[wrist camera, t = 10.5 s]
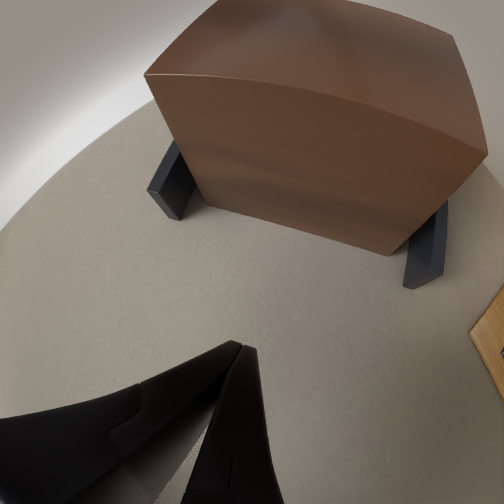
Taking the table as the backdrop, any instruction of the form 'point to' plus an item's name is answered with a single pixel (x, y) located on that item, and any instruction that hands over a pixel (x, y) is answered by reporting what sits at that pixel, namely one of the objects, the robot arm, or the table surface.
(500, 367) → the board
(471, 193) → the table surface
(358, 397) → the table surface
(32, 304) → the table surface
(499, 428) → the table surface
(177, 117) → the walnut block
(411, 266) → the u-shaped frame
